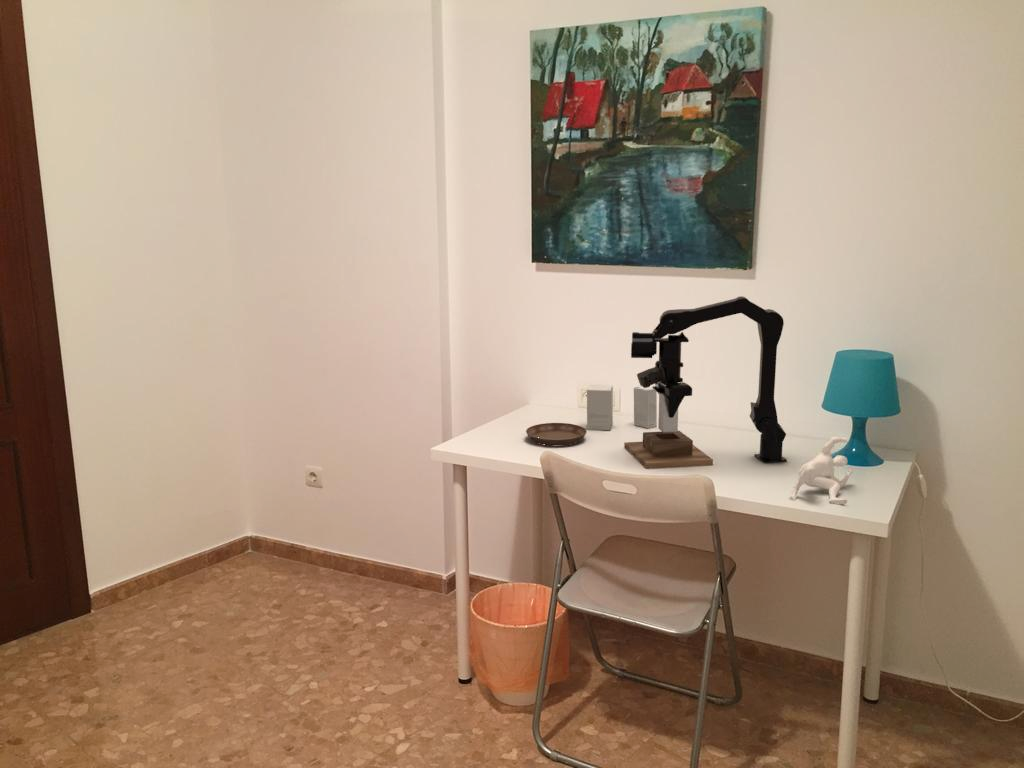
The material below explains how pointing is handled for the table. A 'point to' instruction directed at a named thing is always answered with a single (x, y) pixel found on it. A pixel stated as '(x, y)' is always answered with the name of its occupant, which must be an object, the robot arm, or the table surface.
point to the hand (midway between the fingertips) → (668, 415)
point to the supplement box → (599, 407)
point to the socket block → (667, 451)
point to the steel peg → (666, 416)
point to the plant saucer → (556, 433)
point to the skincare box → (645, 407)
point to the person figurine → (824, 472)
